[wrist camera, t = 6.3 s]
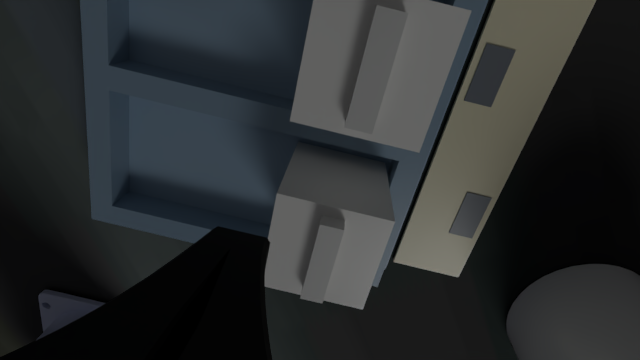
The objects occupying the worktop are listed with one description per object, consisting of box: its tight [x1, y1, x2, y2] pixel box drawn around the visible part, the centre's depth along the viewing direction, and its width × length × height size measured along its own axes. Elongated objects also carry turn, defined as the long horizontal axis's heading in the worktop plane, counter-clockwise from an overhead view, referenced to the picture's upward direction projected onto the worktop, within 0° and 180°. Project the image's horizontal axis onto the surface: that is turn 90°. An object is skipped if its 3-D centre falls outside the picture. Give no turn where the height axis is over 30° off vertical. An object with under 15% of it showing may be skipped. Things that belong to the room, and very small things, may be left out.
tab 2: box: [265, 142, 395, 310], centre depth 15 cm, size 4×4×6 cm
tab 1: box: [290, 0, 471, 153], centre depth 12 cm, size 4×4×6 cm
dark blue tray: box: [80, 0, 596, 287], centre depth 16 cm, size 14×19×3 cm
